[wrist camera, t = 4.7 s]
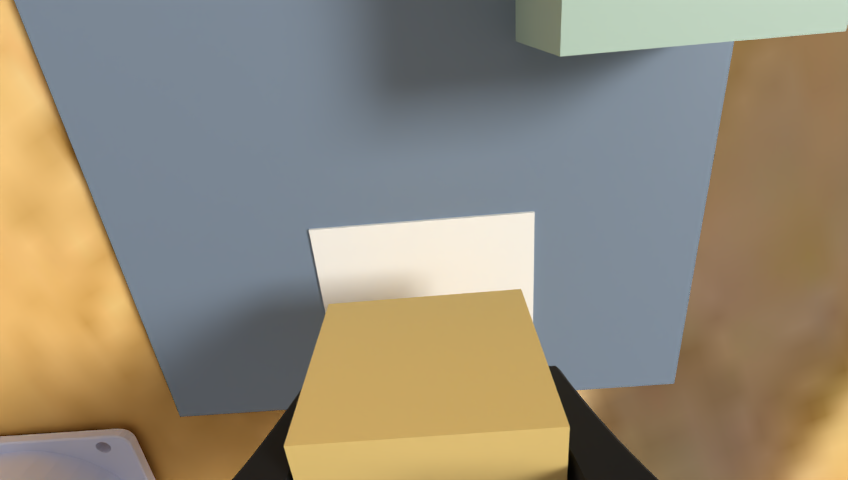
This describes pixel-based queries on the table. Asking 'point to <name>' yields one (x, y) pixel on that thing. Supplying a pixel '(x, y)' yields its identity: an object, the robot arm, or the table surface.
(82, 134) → the board
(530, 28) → the sage block
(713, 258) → the table surface
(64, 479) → the robot arm
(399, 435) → the mustard block
